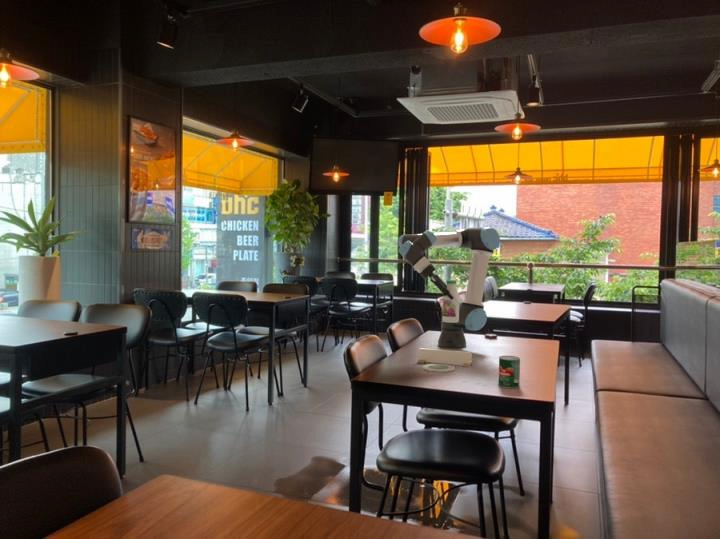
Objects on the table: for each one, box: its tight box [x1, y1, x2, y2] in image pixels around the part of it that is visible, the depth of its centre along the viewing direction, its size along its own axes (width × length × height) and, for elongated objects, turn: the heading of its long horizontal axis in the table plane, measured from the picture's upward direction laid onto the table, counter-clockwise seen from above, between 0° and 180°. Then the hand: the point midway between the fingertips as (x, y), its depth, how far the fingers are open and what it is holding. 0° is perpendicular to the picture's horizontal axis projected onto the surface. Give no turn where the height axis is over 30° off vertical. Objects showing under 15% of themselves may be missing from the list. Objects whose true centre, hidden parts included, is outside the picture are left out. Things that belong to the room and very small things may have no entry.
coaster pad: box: [422, 363, 456, 373], centre depth 249 cm, size 14×14×1 cm
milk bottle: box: [441, 279, 460, 323], centre depth 270 cm, size 8×8×20 cm
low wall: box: [417, 347, 473, 368], centre depth 260 cm, size 24×6×6 cm, turn 69°
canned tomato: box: [498, 355, 521, 389], centre depth 219 cm, size 8×8×11 cm
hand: (458, 303), depth 269 cm, fingers closed on milk bottle, 7 cm apart
